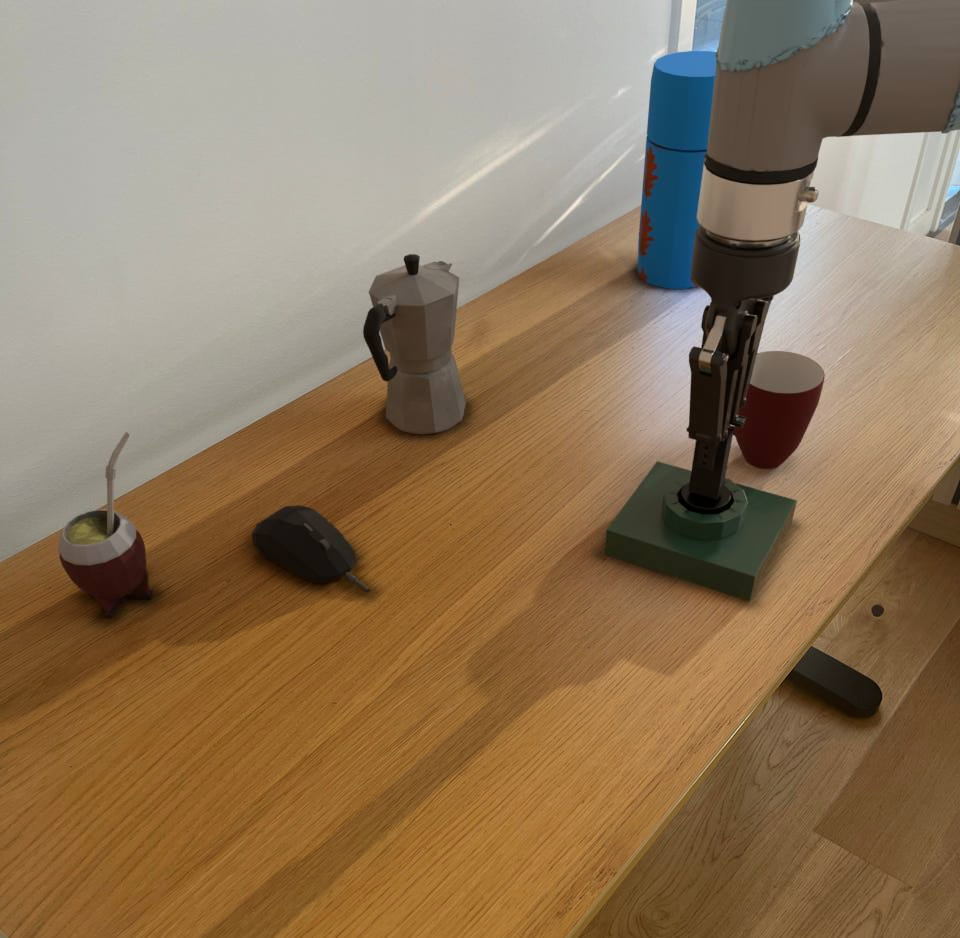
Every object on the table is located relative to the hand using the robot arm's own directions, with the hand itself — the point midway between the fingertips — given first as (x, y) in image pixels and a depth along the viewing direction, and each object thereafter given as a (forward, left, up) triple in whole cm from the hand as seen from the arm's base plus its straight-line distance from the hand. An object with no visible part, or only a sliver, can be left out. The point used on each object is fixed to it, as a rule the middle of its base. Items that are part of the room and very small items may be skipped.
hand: (705, 491), depth 85 cm
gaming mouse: (+31, +19, -6) cm, 37 cm away
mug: (0, -15, -6) cm, 16 cm away
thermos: (+23, -52, -6) cm, 57 cm away
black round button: (0, 0, -2) cm, 2 cm away
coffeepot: (+35, -6, -6) cm, 36 cm away
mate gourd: (+44, +31, -6) cm, 54 cm away
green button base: (0, 0, -6) cm, 6 cm away
